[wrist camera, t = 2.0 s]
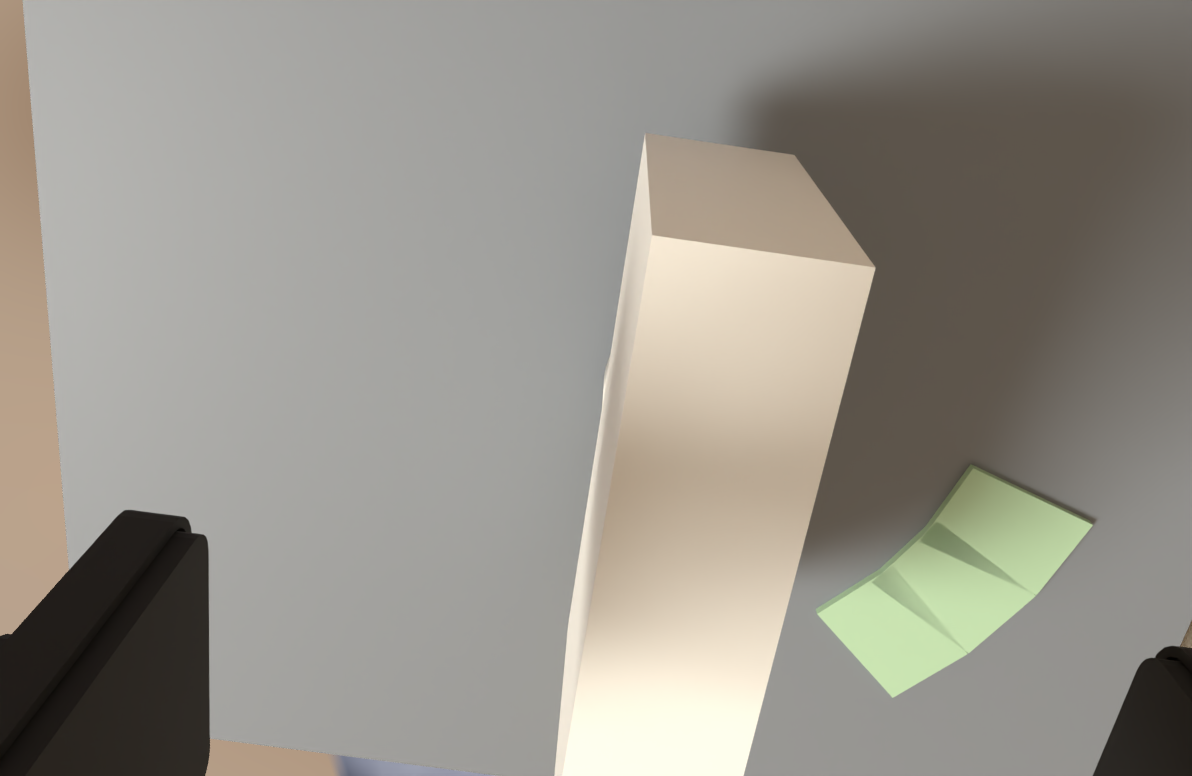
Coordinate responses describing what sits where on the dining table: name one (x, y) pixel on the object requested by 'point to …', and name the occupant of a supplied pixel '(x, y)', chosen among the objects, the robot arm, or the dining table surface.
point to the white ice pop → (705, 457)
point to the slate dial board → (584, 340)
